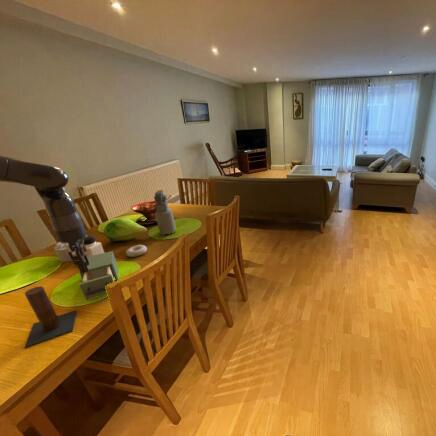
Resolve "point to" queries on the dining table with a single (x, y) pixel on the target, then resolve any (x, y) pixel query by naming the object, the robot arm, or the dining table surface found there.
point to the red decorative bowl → (146, 212)
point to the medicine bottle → (92, 246)
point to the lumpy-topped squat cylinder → (62, 252)
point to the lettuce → (123, 230)
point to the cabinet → (102, 263)
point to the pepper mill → (42, 308)
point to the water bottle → (163, 214)
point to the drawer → (96, 282)
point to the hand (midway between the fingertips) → (85, 268)
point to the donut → (136, 251)
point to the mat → (40, 335)
